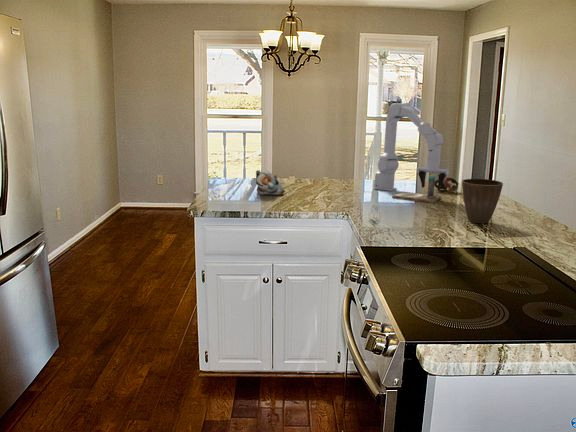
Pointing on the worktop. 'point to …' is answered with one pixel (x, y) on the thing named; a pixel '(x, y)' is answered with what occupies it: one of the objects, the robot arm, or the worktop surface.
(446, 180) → the reddish-brown lumpy part
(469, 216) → the plant pot
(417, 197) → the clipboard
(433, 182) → the marker
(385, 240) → the worktop surface
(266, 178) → the grey piece
